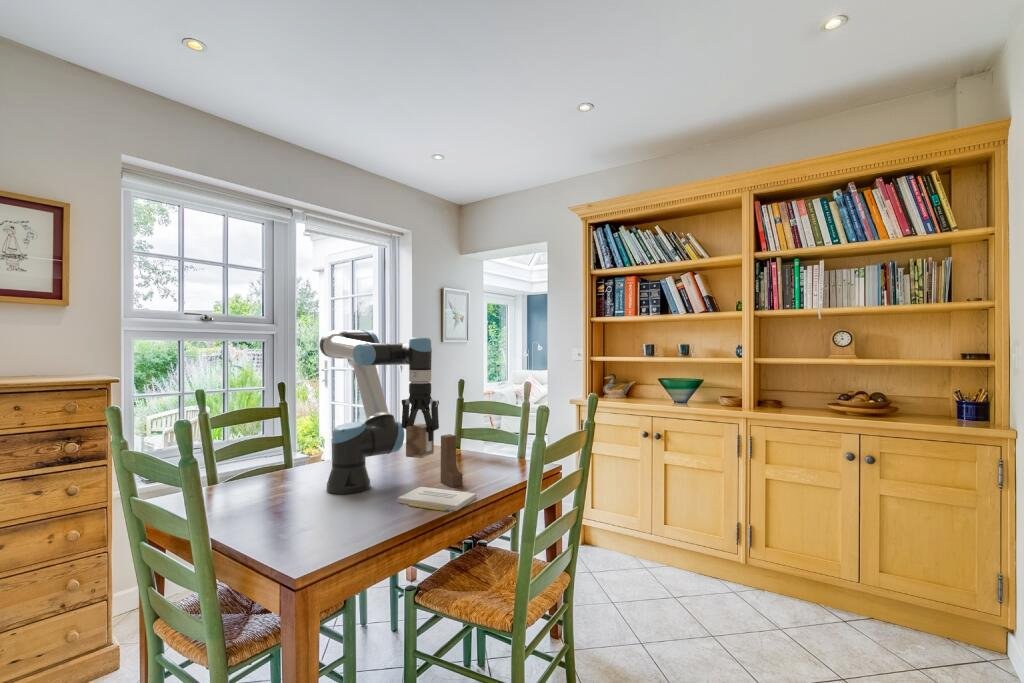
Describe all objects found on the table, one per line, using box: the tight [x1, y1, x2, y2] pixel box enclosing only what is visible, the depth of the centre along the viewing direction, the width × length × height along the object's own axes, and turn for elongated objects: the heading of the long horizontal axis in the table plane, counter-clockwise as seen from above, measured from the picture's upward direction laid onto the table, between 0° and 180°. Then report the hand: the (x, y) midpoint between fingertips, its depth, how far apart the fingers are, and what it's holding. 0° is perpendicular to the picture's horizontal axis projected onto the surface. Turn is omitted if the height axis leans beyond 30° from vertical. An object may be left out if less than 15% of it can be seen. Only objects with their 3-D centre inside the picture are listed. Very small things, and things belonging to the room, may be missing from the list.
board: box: [397, 486, 477, 512], centre depth 165 cm, size 22×14×2 cm, turn 69°
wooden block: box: [440, 433, 463, 488], centre depth 184 cm, size 9×4×18 cm, turn 38°
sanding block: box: [405, 423, 435, 459], centre depth 167 cm, size 6×8×10 cm
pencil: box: [408, 504, 450, 512], centre depth 156 cm, size 14×1×1 cm, turn 69°
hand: (419, 449), depth 167 cm, fingers closed on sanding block, 6 cm apart
